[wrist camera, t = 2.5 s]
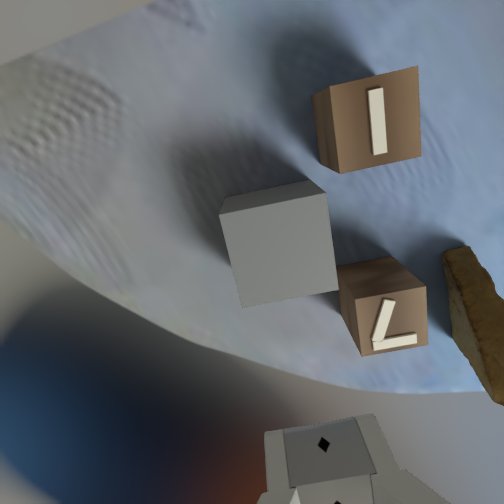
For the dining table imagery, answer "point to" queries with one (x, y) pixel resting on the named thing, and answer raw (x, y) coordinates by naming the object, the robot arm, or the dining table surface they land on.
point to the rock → (476, 318)
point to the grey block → (279, 243)
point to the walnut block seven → (382, 306)
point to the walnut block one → (369, 121)
